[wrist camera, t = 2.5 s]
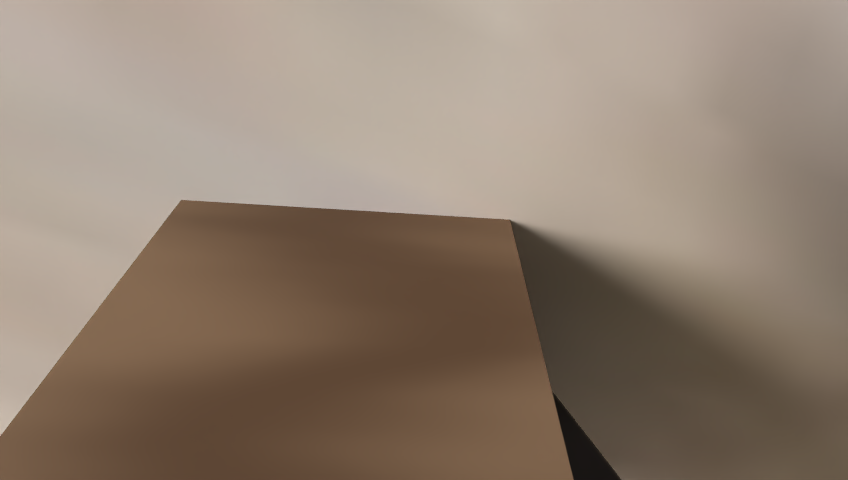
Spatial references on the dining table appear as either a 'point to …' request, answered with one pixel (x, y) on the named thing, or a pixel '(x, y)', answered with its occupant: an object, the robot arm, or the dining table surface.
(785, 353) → the dining table surface
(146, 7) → the dining table surface
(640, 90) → the dining table surface
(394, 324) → the walnut cube
